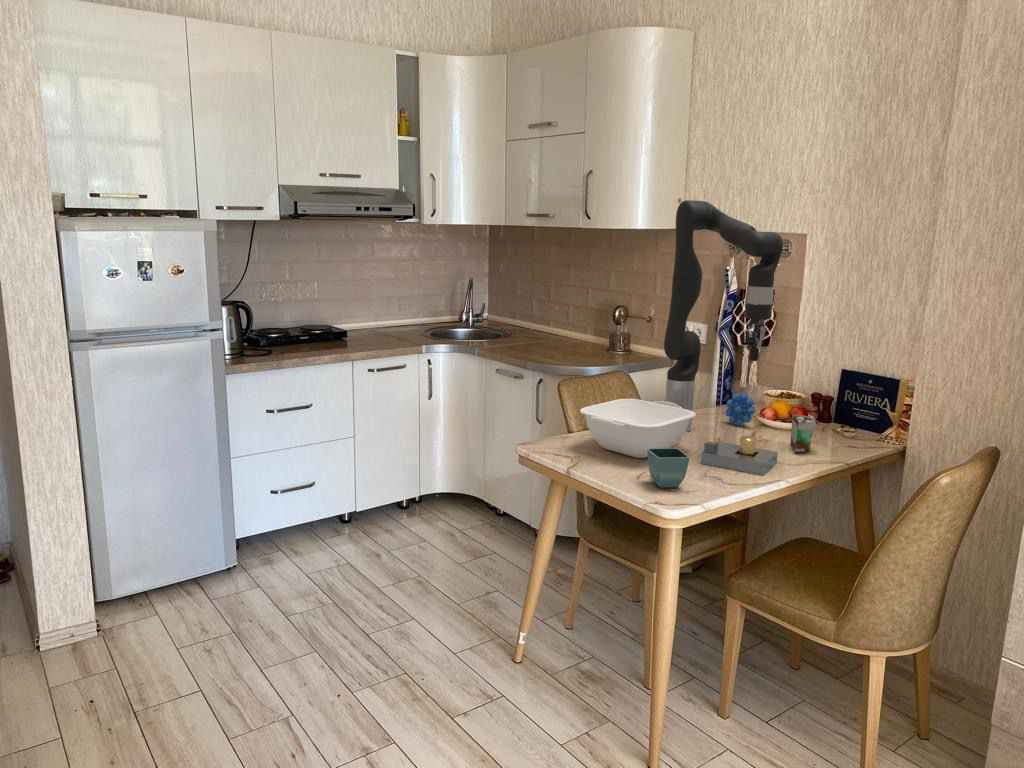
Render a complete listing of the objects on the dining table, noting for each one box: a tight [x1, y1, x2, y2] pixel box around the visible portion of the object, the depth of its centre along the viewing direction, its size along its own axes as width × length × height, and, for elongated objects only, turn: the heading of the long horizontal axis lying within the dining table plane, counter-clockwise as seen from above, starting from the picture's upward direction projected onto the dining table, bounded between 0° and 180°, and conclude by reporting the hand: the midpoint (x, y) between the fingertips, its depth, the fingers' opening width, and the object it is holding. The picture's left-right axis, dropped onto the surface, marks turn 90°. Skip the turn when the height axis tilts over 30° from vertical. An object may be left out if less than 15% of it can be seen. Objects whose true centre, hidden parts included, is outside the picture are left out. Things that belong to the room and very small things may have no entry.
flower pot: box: [647, 447, 690, 489], centre depth 206 cm, size 9×9×9 cm
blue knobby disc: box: [724, 392, 756, 427], centre depth 269 cm, size 12×7×12 cm, turn 39°
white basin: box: [579, 398, 697, 459], centre depth 237 cm, size 34×28×13 cm
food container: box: [789, 413, 817, 455], centre depth 241 cm, size 12×6×10 cm, turn 168°
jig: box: [700, 440, 779, 476], centre depth 226 cm, size 18×14×6 cm
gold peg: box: [739, 435, 757, 457], centre depth 225 cm, size 4×4×8 cm
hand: (753, 360), depth 230 cm, fingers closed
